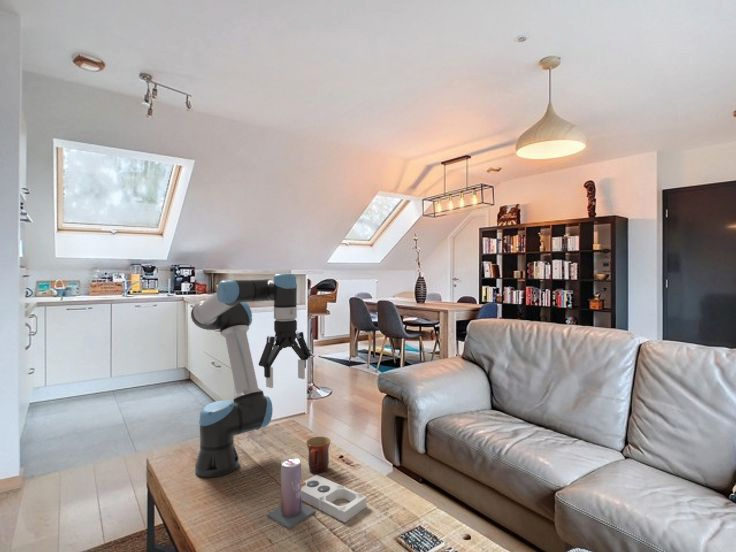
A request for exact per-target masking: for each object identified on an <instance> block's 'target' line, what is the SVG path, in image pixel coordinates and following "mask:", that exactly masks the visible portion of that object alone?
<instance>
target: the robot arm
mask: <svg viewBox="0 0 736 552" xmlns="http://www.w3.org/2000/svg"><path fill="white" fill-rule="evenodd" d="M297 290H298V283H297V275H295V273H275V274H274V275H273V279H272V278H266V279H227V280H221V281H219V283H217V287H216V292H215V293H214V294H213V295H211V296H210V297H208V298H207V299H206V300H201V301H199V302H197V303H196V304H194V306H193V307H192V309H191V311H190V318H191V321H192V322H193V324H194V325H195V326H197V327H198V328H200V329H203V330H207V331H212V330H213V331H214V330H216V331H217V330H219V333H220V335H221V336H222V337H224V338H225V342H226V346H227V347H226V349H227V352H228V358H229V364H230V369H231V373H232V380H233V384H234V390H235V396H234V397H233V399H232V400H230V399H224V400H216V401H214V402H210V403H208V404H207V405H204V407H202V409H201V410H200V413H199V452H198V454H197V458H196V461H195V464H194V471H195V474H196V475H197V476H199V477H202V478H219V477H222V476H225V475H229V474H230V473H232V472H234V471H235V470H236V469H238V467H239V465H240V459H239V455H238V453H237V449H236V447H235V443H234V442H235V440H234V437H235V436H237V435H238V436H239V435H241V434H245V433H248V432H252V431H257V430H260V429H262V428H266V427H267V426H269V425H270V423H271V421H272V417H273V410H274V409H273V404H272V399H271V398H270V397H269V396H268V395H265V394H264V391H263V390H262V389H261V388H259V385H258V380H257V376H256V371H255V367H254V362H253V358H252V357H253V356H252V352H251V348H250V344H249V339H248V335H247V334H248V333H247V332H248V331H249V330H250V326H251V324H252V323H253V313H252V309H251V307H250V305H249V304H248V303H252V302H270V301H271V302H273V319H274V321H273V330H274V336H272V335H267V337H266V342H265V343H266V344H265V346H264V349H263V351H262V354H261V357H260V360H259V362H258V366H259V367H263V368H264V369H263V372H264V373H263V376H264V378H265V386H266V388H270V389H273V388H274V367H272V365H273V364H274V362H275V360H276V358H277V357H278V355H279V353H280V351H282V350H283V349H286V348H291V349H292V350H293V351H294V352H295V354H296V356H298V358H299V359H297V378H298V379H301V380H305V379H306V367H307V361H308V360H309V358H310V357H311V352H310V350H309V347H308V345H307V342H306V340H305V338H304V332H303V331H297V330H298V320H297V318H298V317H297V316H298V314H297V313H298V312H297V311H298V309H297V308H298V307H297V304H298V303H297V300H298V299H297V298H298V297H297V295H298V294H297V293H298V292H297Z"/></svg>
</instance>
